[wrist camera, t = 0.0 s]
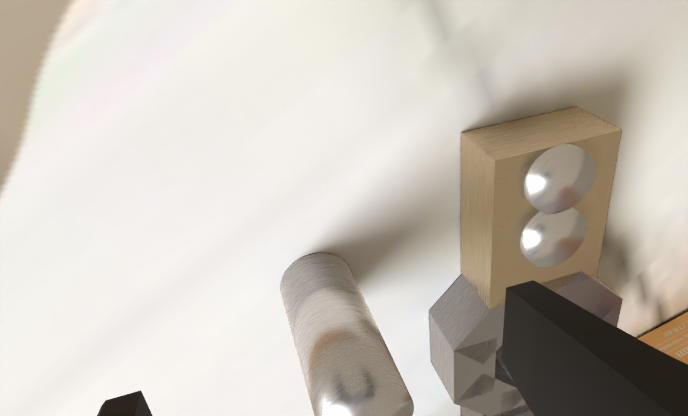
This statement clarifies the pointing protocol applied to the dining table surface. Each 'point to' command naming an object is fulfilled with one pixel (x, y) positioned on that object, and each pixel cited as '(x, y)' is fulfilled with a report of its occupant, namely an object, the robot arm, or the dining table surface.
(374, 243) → the dining table surface
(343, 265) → the pin
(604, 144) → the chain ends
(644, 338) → the small box
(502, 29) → the dining table surface
